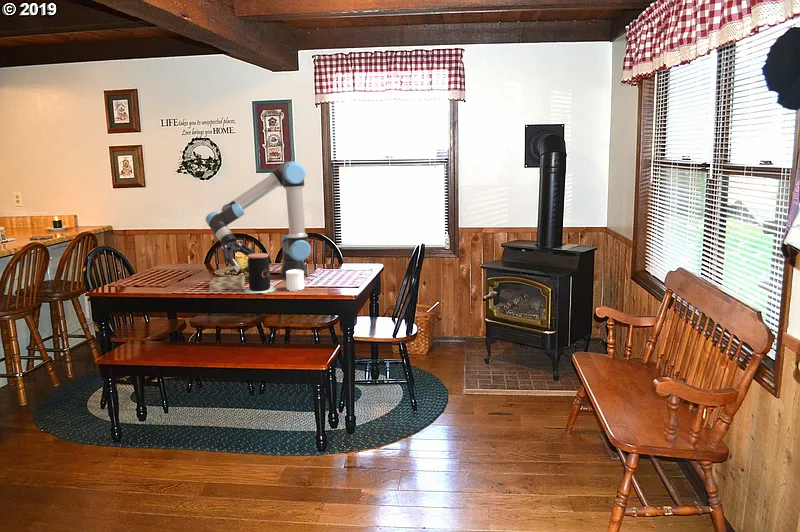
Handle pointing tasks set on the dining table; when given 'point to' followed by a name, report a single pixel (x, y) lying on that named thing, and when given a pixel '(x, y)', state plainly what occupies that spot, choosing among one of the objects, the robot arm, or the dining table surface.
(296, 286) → the cup
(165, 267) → the dining table surface
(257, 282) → the coffee jar
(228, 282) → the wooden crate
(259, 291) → the sage mat
